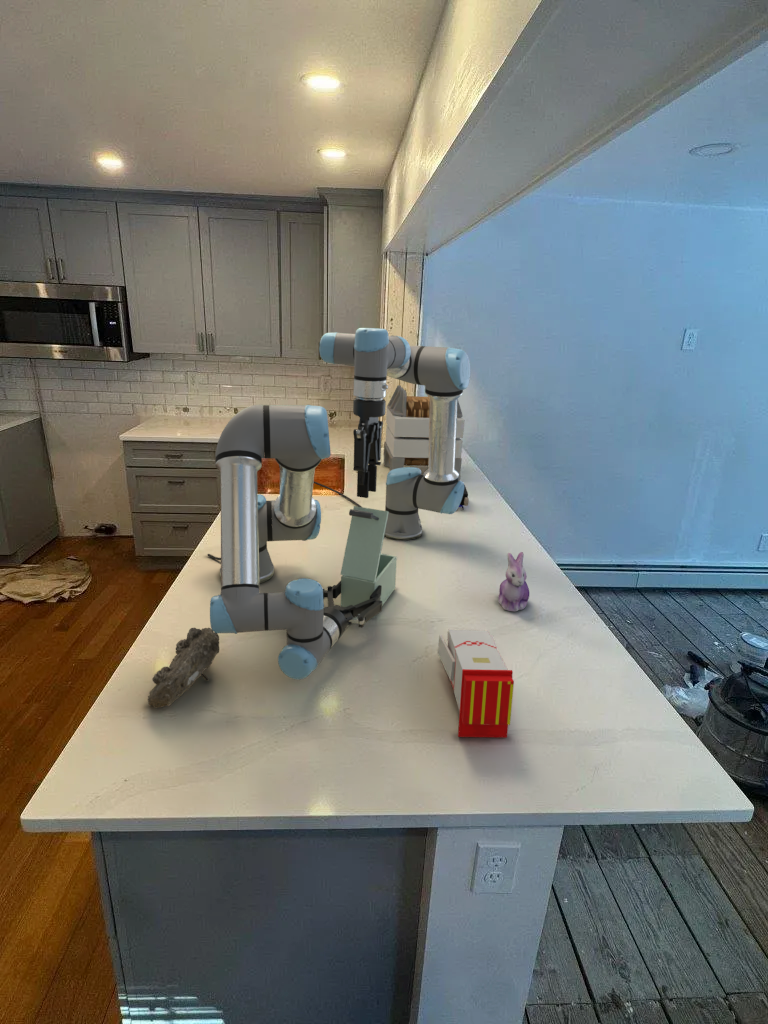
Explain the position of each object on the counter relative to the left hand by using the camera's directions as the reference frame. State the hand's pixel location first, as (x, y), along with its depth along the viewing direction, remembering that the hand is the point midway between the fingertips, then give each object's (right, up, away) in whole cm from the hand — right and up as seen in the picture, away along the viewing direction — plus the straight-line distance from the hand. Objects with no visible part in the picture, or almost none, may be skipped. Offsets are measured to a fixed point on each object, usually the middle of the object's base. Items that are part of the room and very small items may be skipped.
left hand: (362, 586), depth 147 cm
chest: (+2, -4, +7) cm, 9 cm away
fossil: (-35, -16, -28) cm, 47 cm away
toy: (+24, -18, -28) cm, 41 cm away
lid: (+1, +11, -3) cm, 12 cm away
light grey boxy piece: (+23, +38, +128) cm, 136 cm away
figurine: (+41, -6, +8) cm, 42 cm away
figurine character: (+36, +22, +85) cm, 94 cm away
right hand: (+1, +24, -8) cm, 25 cm away
